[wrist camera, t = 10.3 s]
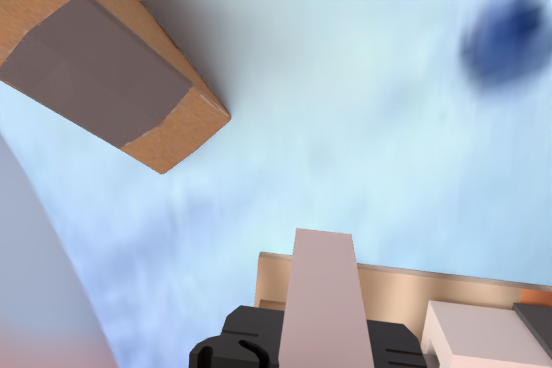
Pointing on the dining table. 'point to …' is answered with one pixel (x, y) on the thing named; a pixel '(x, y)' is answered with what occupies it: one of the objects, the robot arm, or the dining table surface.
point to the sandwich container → (109, 75)
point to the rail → (404, 292)
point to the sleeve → (480, 338)
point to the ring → (537, 323)
